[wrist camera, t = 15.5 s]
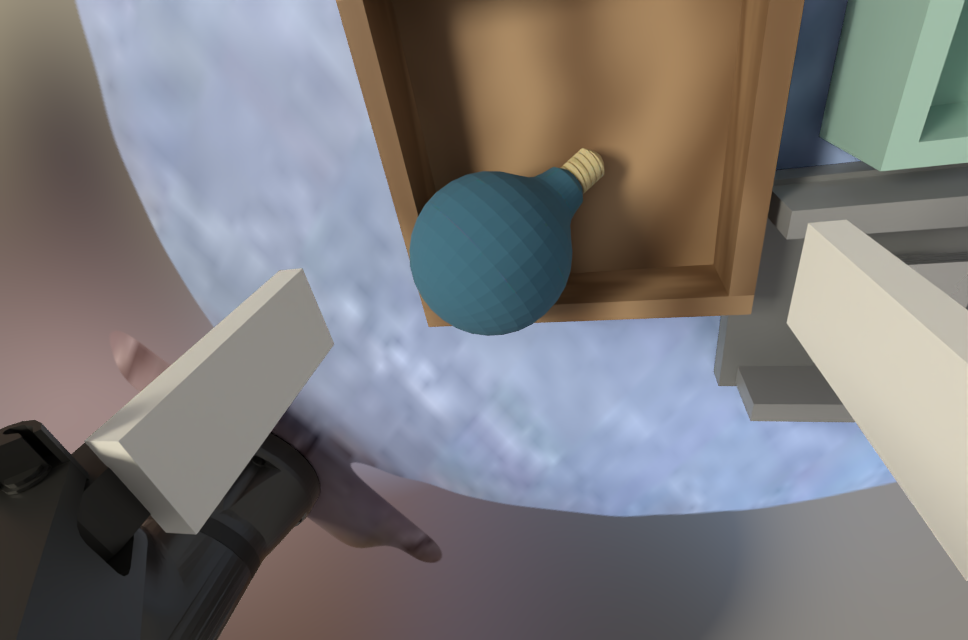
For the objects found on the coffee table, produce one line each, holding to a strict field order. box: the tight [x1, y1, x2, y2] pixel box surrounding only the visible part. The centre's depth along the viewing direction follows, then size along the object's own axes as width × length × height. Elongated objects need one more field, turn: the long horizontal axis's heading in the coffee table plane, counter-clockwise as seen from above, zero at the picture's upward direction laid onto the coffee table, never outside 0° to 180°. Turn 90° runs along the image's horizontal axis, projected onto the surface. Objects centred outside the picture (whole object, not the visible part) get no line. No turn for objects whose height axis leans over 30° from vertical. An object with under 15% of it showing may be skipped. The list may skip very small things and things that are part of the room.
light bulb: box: [409, 148, 604, 336], centre depth 24 cm, size 8×8×12 cm
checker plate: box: [807, 251, 968, 363], centre depth 24 cm, size 6×6×1 cm
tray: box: [336, 0, 805, 327], centre depth 24 cm, size 18×18×4 cm
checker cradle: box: [714, 161, 968, 422], centre depth 25 cm, size 14×14×5 cm
